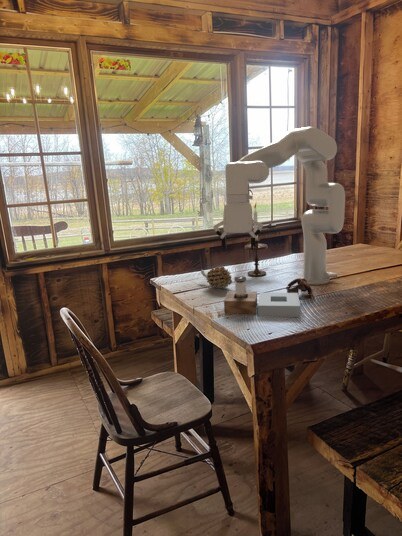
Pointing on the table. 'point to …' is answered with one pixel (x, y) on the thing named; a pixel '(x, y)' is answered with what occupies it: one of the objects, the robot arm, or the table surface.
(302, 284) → the cracked clay ring
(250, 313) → the mount block
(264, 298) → the socket block
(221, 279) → the pine cone
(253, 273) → the candlestick
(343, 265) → the table surface
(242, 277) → the lock pin
